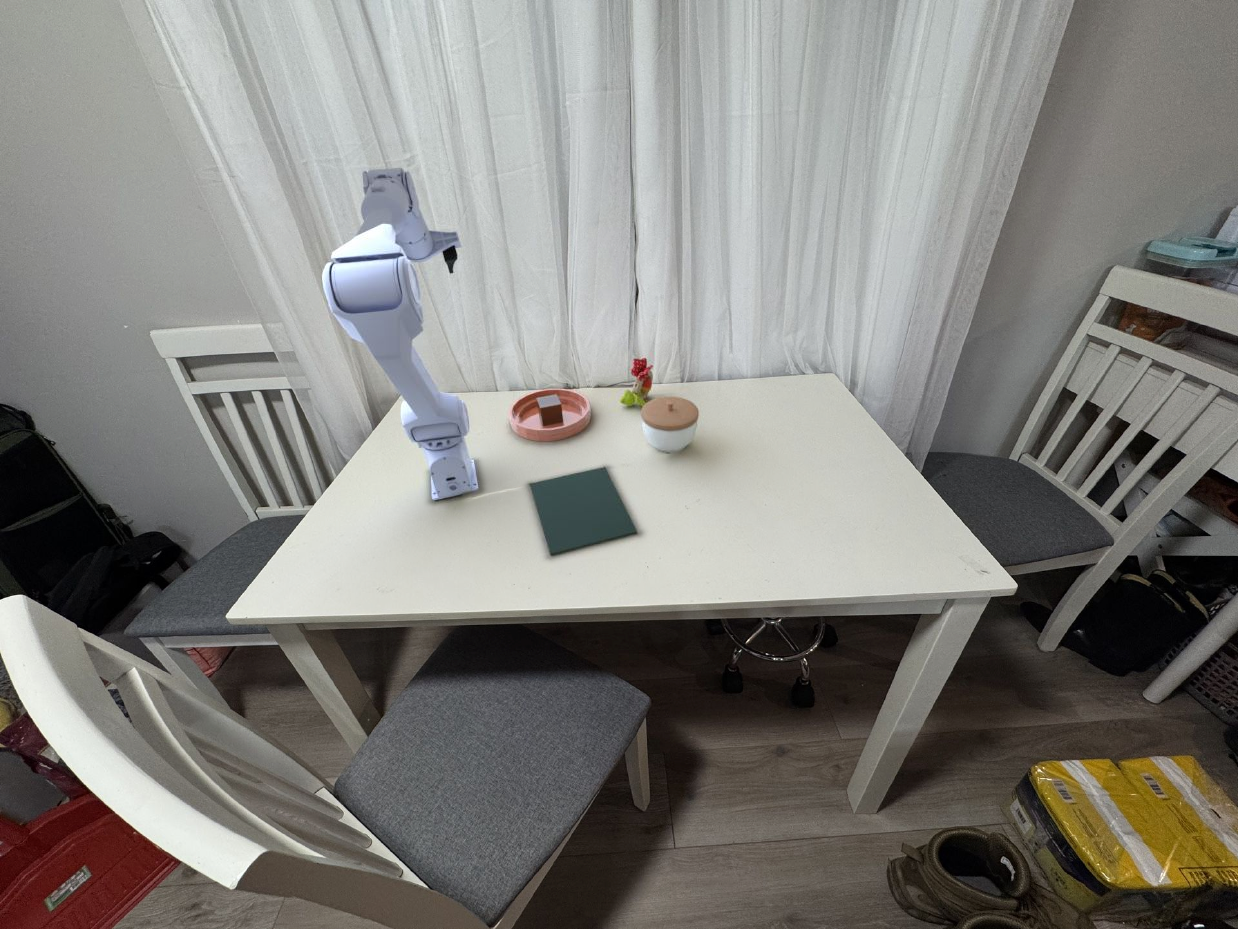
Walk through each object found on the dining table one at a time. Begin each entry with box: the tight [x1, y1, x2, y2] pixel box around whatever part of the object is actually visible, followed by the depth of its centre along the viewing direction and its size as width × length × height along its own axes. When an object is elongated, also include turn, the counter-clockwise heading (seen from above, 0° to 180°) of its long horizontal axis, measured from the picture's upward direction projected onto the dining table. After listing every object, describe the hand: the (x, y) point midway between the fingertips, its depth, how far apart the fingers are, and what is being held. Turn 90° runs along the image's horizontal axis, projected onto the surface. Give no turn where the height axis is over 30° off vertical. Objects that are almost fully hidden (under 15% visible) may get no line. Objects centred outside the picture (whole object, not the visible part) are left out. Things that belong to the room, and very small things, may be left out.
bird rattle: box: [619, 357, 654, 408], centre depth 112 cm, size 6×11×9 cm
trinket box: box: [640, 396, 699, 454], centre depth 98 cm, size 11×11×9 cm
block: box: [536, 394, 563, 426], centre depth 108 cm, size 4×4×4 cm
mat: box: [530, 466, 638, 556], centre depth 87 cm, size 18×14×1 cm
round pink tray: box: [508, 388, 592, 443], centre depth 109 cm, size 17×17×3 cm
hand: (430, 273), depth 100 cm, fingers open, 7 cm apart
